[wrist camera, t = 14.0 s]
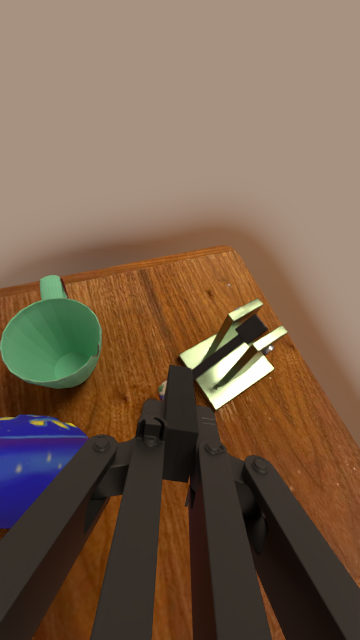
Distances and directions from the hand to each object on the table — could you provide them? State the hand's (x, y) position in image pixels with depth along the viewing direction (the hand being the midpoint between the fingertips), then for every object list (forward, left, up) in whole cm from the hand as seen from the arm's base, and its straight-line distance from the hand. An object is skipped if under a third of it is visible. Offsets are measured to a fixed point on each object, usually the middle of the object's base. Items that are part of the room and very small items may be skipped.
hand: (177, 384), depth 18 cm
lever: (+6, -6, -12) cm, 15 cm away
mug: (+10, +12, -19) cm, 24 cm away
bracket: (+8, -10, -19) cm, 23 cm away
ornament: (-4, +13, -19) cm, 23 cm away
